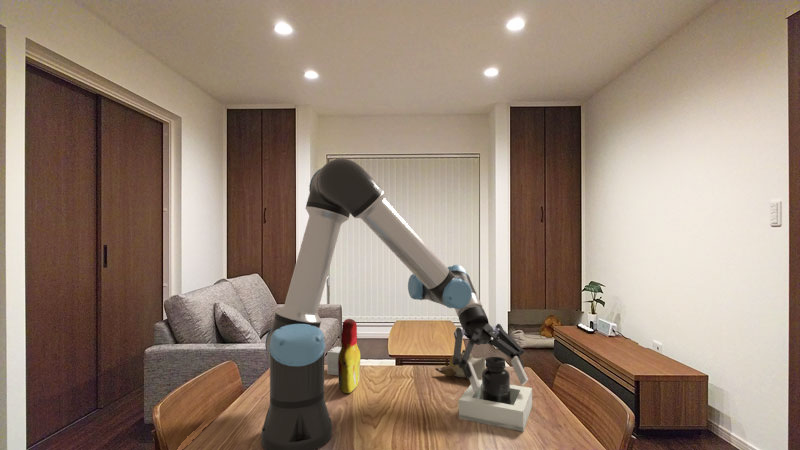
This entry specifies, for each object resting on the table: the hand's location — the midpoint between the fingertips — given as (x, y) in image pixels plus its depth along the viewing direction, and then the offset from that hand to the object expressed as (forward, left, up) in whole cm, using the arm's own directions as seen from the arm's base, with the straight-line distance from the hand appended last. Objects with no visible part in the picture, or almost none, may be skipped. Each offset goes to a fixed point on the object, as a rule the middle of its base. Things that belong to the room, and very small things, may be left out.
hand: (501, 386), depth 96 cm
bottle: (-44, -1, -7) cm, 44 cm away
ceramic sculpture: (-16, +22, -8) cm, 28 cm away
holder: (-2, +2, -7) cm, 8 cm away
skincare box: (-54, +9, -7) cm, 55 cm away
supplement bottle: (-2, +2, -6) cm, 7 cm away
